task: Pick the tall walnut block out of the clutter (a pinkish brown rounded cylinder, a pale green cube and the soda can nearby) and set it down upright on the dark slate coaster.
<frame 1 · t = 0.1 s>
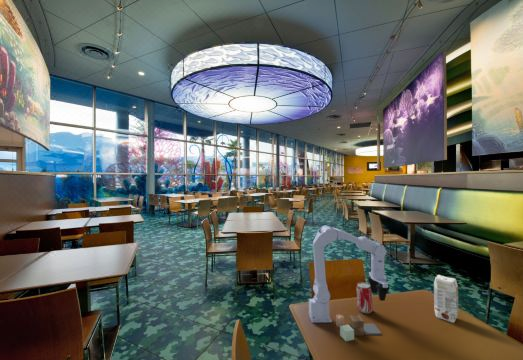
hand: (378, 296, 115), 10 cm above the table, fingers open, 7 cm apart
walnut block: (356, 332, 104), on the table
pinkish brown rounded cylinder: (340, 325, 108), on the table
soda can: (365, 310, 121), on the table
pale green cube: (347, 337, 100), on the table
slate coaster: (369, 329, 105), on the table
white food bag: (446, 318, 114), on the table
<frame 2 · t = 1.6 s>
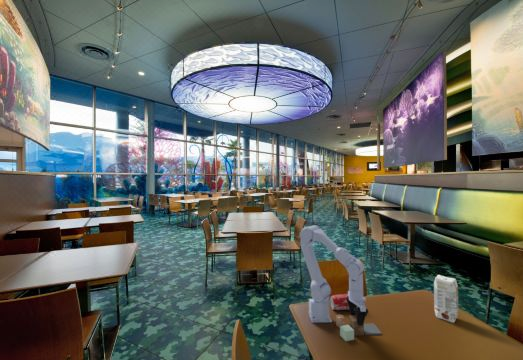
hand: (356, 319, 104), 5 cm above the table, fingers open, 7 cm apart
soda can: (356, 301, 124), point 4 cm above the table
everything else where it was.
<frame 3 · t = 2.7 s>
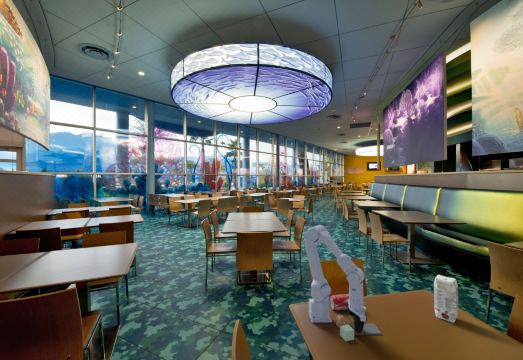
hand: (356, 328, 104), 1 cm above the table, fingers closed on walnut block, 4 cm apart
walnut block: (356, 331, 104), on the table, touching gripper
everything else where it was.
when the fingers open (3 cm above the table, at t = 5.4 s): walnut block stays where it is, resting on slate coaster.
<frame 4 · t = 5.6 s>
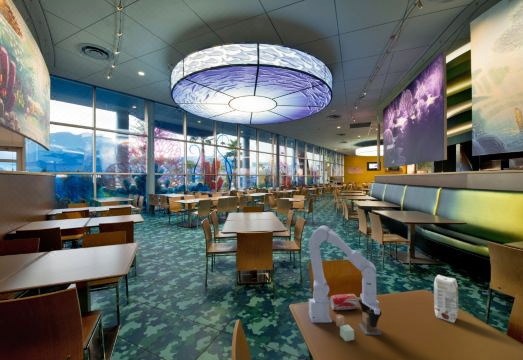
hand: (369, 321, 105), 3 cm above the table, fingers open, 6 cm apart
walnut block: (369, 328, 105), point 1 cm above the table, touching slate coaster
everything else where it was.
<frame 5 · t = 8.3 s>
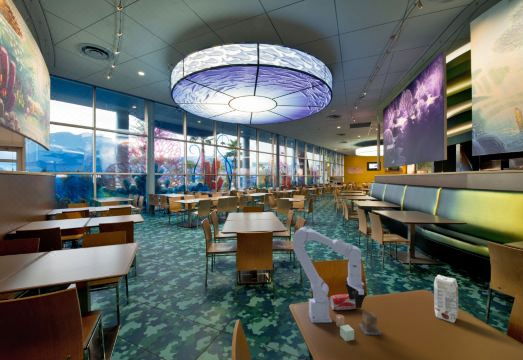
hand: (355, 303, 109), 10 cm above the table, fingers open, 7 cm apart
nothing on the table moved.
at the end: walnut block 0.1 cm off-centre on the slate coaster, point 0.6 cm above the slate coaster's base; walnut block tilted 0°; the gripper is holding nothing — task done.
